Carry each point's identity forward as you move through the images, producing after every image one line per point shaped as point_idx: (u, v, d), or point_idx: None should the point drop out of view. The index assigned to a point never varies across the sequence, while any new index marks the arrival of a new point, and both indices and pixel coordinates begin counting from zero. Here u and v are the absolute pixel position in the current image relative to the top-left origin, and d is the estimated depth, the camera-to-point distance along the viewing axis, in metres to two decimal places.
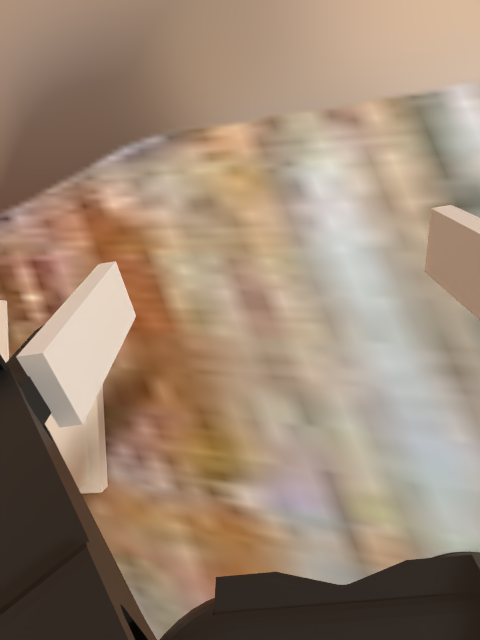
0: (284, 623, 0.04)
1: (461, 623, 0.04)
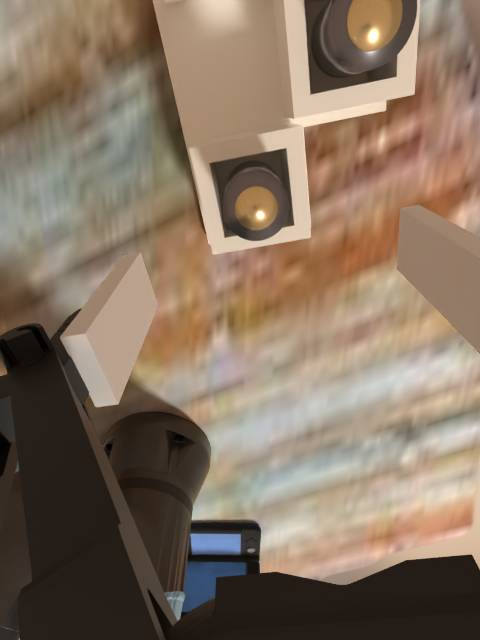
0: (284, 623, 0.04)
1: (461, 623, 0.04)
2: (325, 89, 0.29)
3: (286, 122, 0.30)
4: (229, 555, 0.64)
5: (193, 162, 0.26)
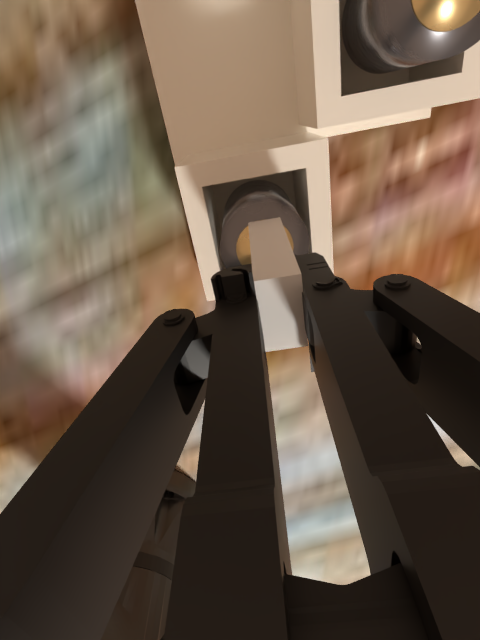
0: None
1: None
2: (354, 89, 0.22)
3: (302, 131, 0.23)
4: None
5: (180, 185, 0.19)
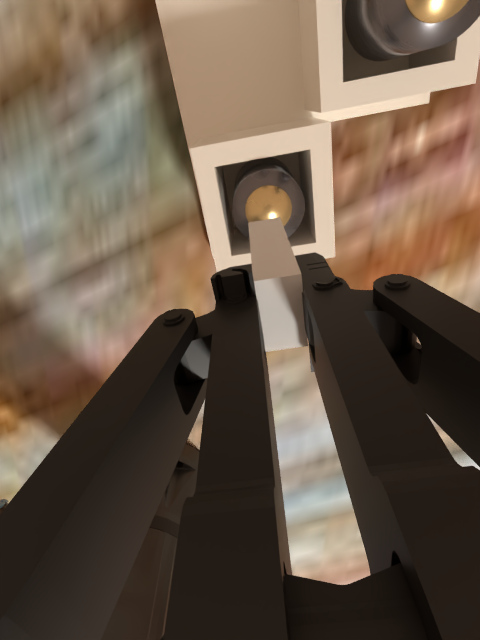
0: None
1: None
2: (357, 76, 0.23)
3: (307, 116, 0.25)
4: None
5: (194, 166, 0.21)
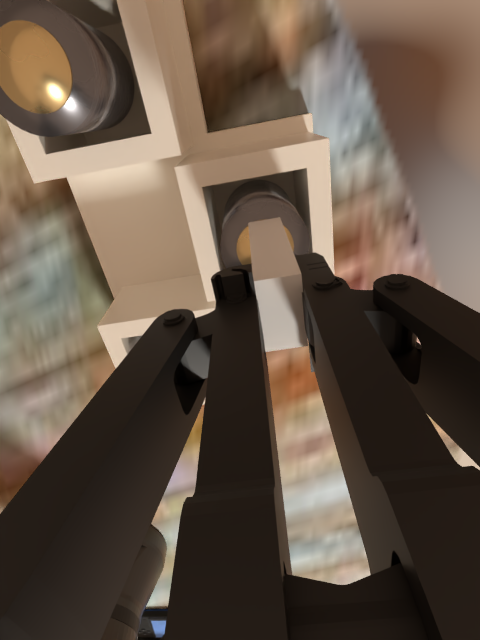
0: None
1: None
2: None
3: None
4: None
5: (103, 338, 0.24)
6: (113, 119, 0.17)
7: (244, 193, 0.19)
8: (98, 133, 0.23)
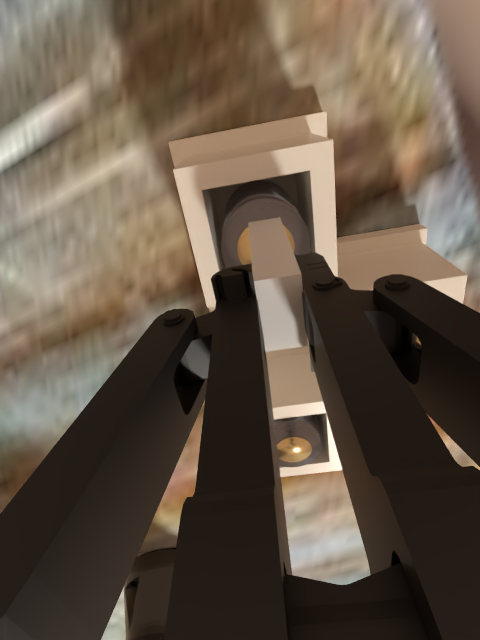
0: None
1: None
2: None
3: None
4: None
5: None
6: None
7: None
8: None
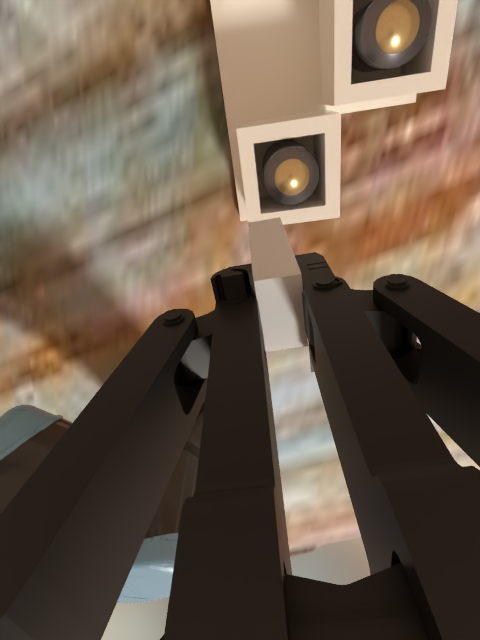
0: None
1: None
2: (361, 79, 0.31)
3: (322, 109, 0.32)
4: None
5: (239, 142, 0.28)
6: None
7: None
8: None
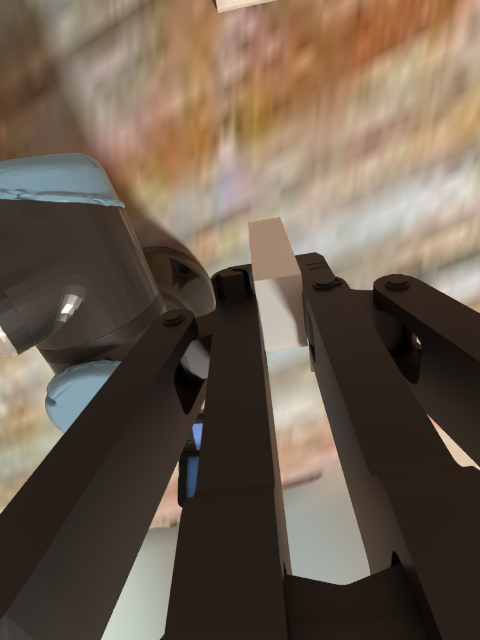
0: None
1: None
2: None
3: None
4: None
5: None
6: None
7: None
8: None
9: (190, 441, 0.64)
